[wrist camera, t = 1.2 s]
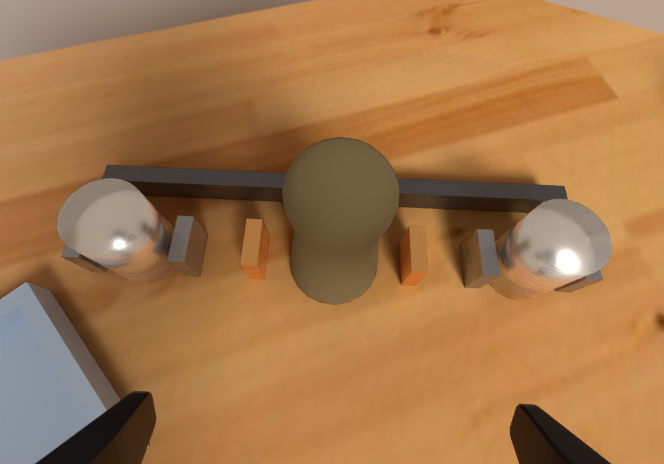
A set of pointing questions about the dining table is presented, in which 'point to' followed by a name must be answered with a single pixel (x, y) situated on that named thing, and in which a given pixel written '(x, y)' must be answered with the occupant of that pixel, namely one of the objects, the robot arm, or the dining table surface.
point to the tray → (44, 377)
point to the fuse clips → (190, 238)
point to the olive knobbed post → (338, 216)
